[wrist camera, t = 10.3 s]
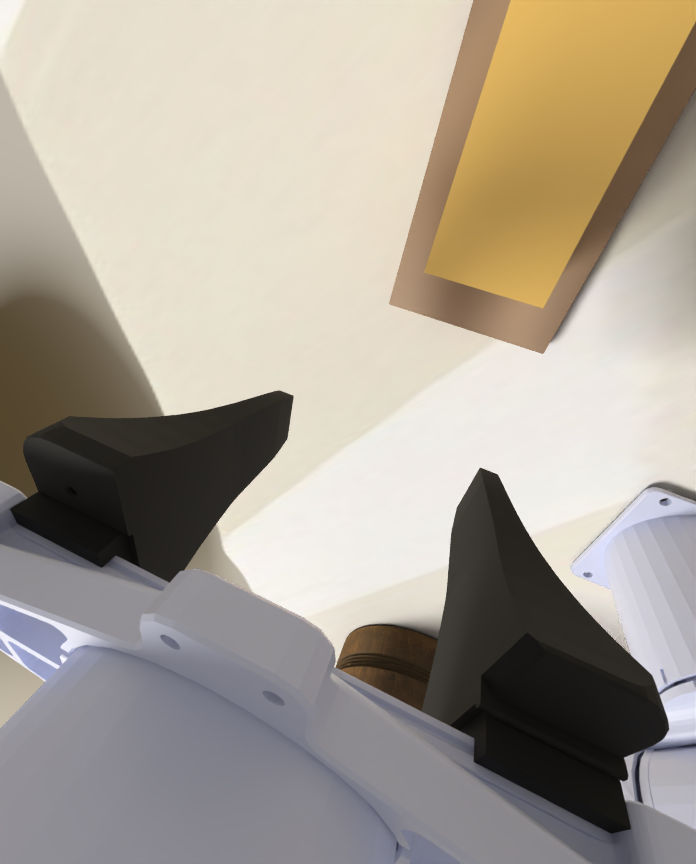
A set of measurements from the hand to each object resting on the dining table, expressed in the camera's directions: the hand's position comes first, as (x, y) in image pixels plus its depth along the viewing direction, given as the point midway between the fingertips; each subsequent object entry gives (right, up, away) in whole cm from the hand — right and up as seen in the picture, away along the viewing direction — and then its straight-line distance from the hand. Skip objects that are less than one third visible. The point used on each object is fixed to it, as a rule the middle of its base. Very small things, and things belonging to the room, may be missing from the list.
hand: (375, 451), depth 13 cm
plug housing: (+6, +12, +1) cm, 13 cm away
